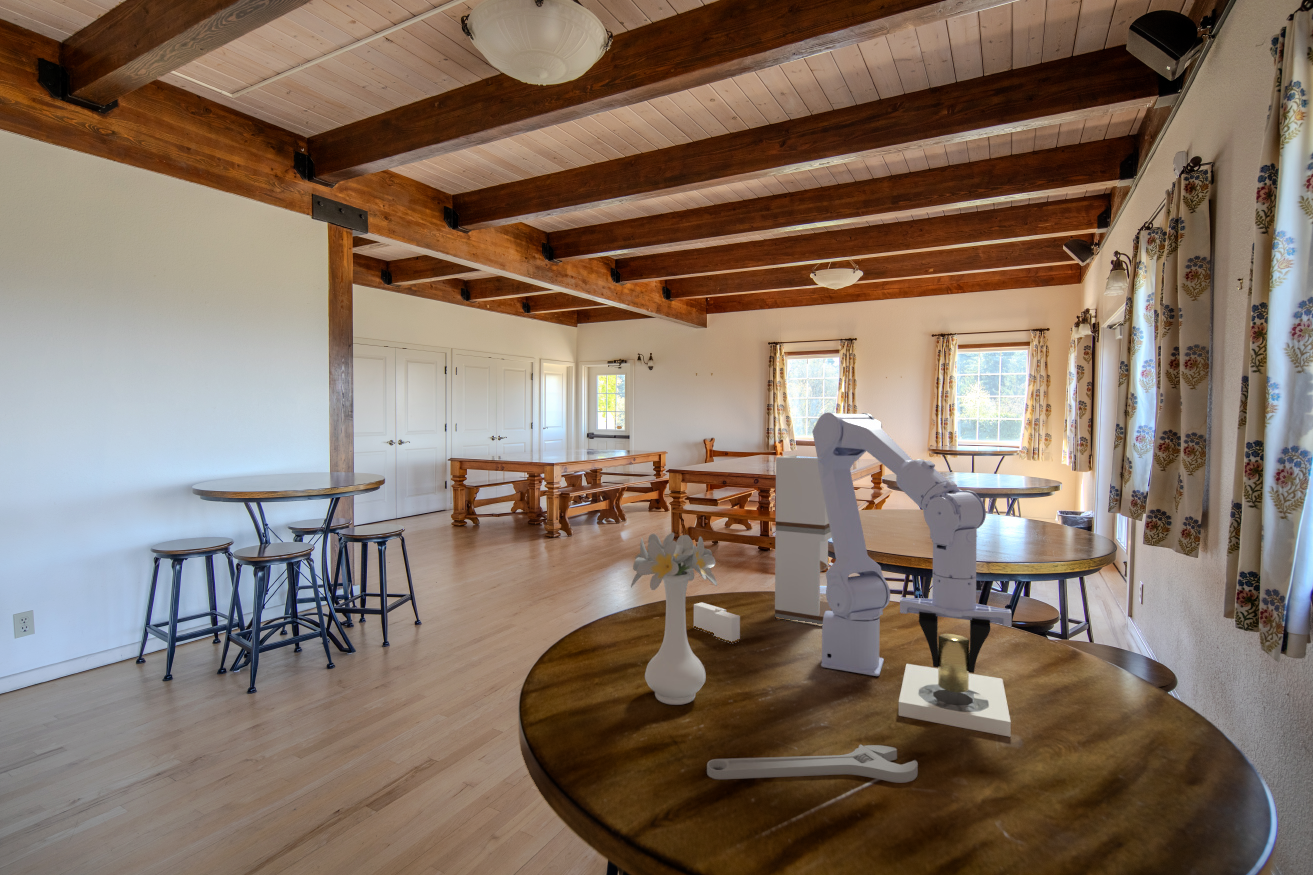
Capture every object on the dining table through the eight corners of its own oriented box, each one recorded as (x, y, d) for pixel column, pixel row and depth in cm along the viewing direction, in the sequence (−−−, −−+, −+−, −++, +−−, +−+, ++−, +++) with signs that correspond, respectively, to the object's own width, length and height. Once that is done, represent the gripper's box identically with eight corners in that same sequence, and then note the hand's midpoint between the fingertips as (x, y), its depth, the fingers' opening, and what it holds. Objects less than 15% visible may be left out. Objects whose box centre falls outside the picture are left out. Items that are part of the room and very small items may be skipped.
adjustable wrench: (707, 784, 72) (707, 769, 72) (704, 755, 79) (704, 741, 79) (923, 785, 72) (923, 770, 72) (902, 756, 78) (902, 742, 78)
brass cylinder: (937, 688, 89) (938, 640, 89) (938, 678, 93) (938, 632, 93) (968, 694, 87) (969, 645, 87) (968, 683, 91) (968, 636, 91)
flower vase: (706, 670, 105) (707, 523, 105) (723, 722, 87) (724, 544, 86) (629, 671, 104) (630, 524, 104) (630, 724, 86) (631, 544, 86)
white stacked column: (823, 626, 129) (825, 458, 128) (774, 618, 134) (776, 457, 134) (838, 612, 138) (839, 456, 138) (791, 605, 144) (792, 455, 143)
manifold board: (898, 715, 89) (898, 680, 89) (906, 675, 103) (906, 645, 103) (1010, 736, 83) (1011, 699, 83) (1002, 691, 97) (1002, 659, 97)
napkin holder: (683, 625, 131) (683, 598, 130) (736, 625, 131) (736, 598, 131) (691, 651, 116) (691, 621, 115) (751, 650, 116) (751, 620, 116)
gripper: (898, 575, 90) (897, 668, 90) (1013, 586, 83) (1012, 686, 83) (902, 565, 96) (901, 652, 96) (1009, 575, 90) (1008, 668, 90)
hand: (953, 667), depth 90 cm, fingers closed on brass cylinder, 4 cm apart
